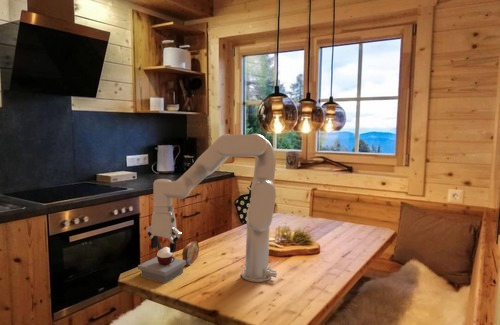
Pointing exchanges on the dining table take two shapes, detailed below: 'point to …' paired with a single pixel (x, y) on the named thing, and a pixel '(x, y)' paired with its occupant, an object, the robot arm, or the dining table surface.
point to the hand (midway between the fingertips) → (163, 249)
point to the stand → (161, 270)
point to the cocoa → (164, 254)
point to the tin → (190, 252)
